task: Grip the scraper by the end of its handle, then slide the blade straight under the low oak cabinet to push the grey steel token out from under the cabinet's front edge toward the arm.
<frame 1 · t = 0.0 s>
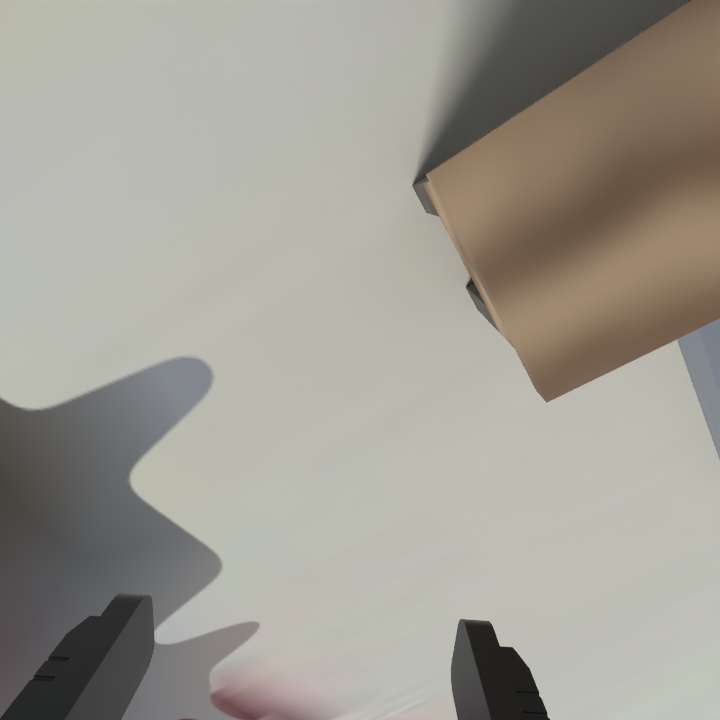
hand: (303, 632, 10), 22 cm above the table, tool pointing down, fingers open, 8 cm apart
cabinet: (630, 140, 26), on the table
scraper: (704, 368, 32), on the table
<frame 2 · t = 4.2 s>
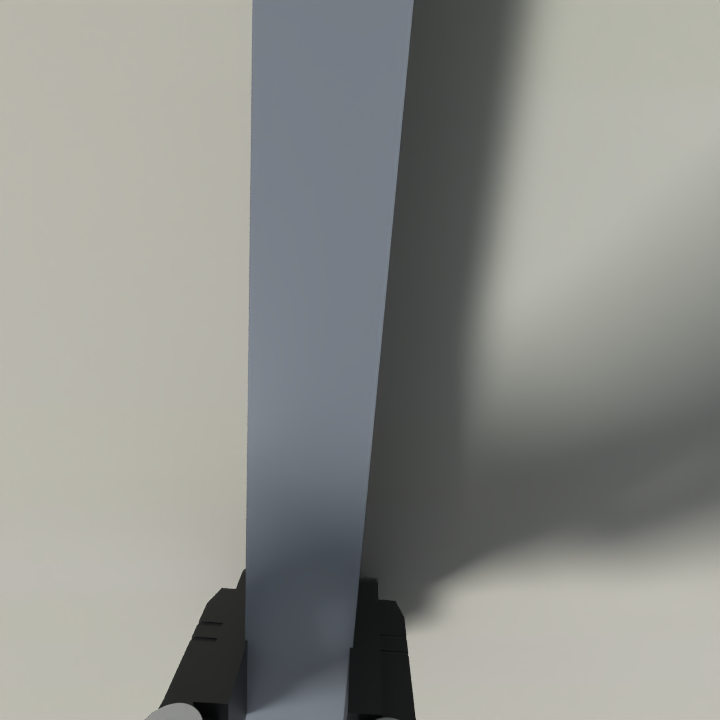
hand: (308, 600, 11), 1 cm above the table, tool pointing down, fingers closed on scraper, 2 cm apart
scraper: (329, 301, 10), on the table, touching gripper
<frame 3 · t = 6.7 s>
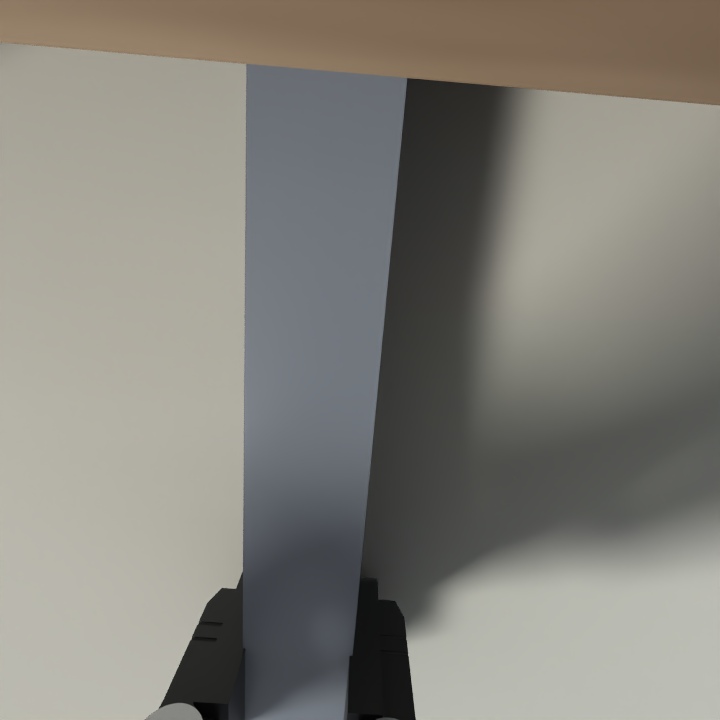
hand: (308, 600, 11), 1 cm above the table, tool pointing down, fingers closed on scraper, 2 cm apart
scraper: (328, 313, 10), on the table, touching gripper, token
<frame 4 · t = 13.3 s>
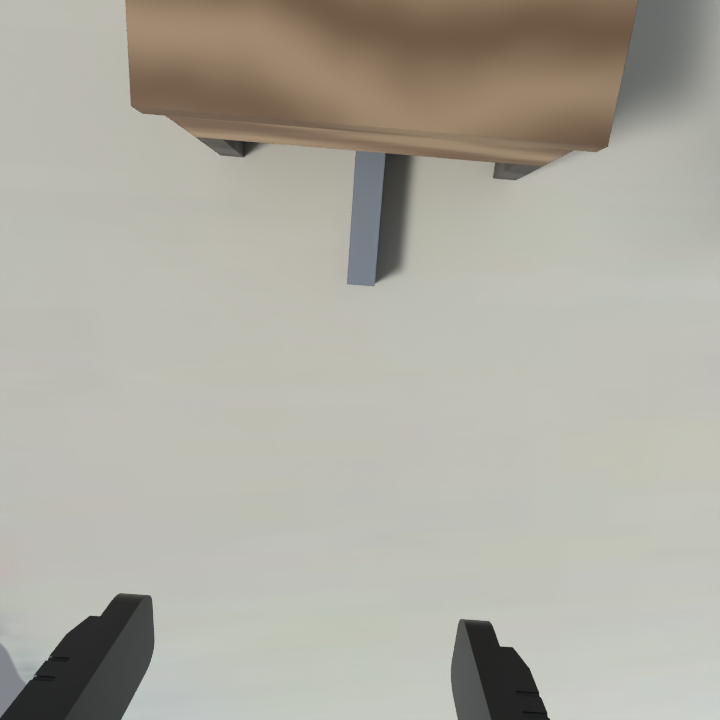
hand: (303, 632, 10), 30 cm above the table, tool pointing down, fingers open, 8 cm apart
cabinet: (373, 103, 34), on the table
scraper: (370, 158, 35), on the table
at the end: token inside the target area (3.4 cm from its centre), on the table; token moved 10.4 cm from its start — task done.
